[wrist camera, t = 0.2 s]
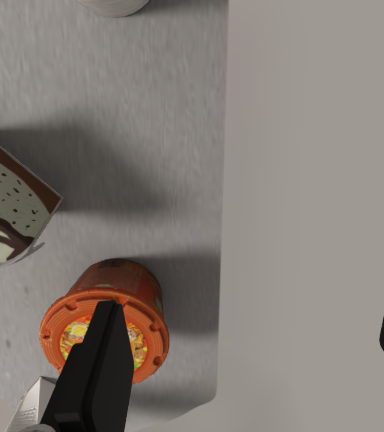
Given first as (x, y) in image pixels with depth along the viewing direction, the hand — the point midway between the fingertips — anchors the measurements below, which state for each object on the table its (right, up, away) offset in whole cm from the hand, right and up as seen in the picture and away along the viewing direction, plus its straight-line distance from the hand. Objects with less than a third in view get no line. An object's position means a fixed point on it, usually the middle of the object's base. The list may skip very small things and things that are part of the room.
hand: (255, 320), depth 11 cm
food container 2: (-13, -8, +37) cm, 40 cm away
